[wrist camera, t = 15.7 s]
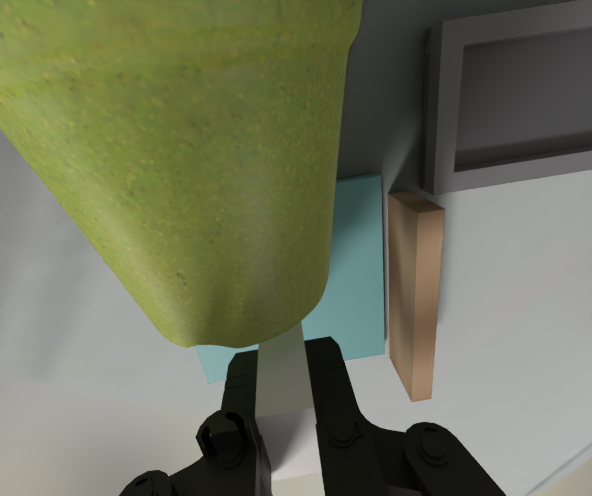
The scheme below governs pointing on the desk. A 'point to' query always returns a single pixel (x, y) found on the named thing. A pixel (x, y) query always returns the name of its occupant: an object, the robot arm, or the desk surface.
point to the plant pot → (189, 147)
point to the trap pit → (507, 97)
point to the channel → (414, 288)
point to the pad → (340, 281)
